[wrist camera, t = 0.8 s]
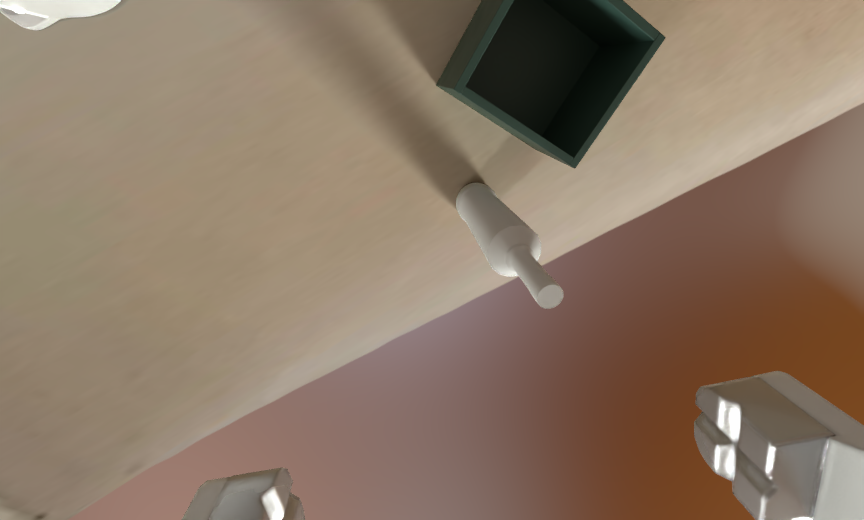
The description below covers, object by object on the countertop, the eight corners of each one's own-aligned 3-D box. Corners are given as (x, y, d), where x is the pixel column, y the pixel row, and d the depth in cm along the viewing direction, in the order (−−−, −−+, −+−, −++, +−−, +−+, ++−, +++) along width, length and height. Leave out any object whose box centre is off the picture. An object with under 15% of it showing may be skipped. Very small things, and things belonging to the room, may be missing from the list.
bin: (435, 85, 47) (453, 89, 37) (502, -39, 43) (542, -70, 33) (535, 149, 52) (575, 168, 42) (604, 43, 48) (666, 37, 38)
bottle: (479, 172, 52) (562, 251, 30) (501, 203, 54) (595, 299, 32) (446, 198, 53) (503, 294, 30) (469, 227, 55) (538, 338, 32)
